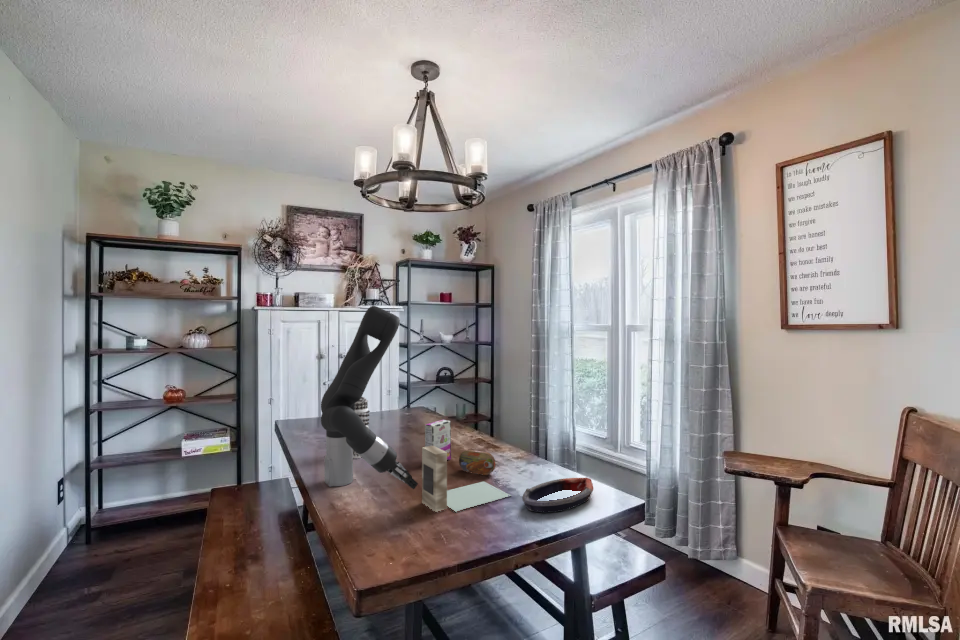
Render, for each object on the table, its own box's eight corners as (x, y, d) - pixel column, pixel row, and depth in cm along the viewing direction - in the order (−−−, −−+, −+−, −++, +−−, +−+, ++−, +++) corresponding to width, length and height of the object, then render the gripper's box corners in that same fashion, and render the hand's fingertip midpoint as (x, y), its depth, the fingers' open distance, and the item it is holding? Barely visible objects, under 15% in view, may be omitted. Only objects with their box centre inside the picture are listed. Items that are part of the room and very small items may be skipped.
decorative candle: (366, 458, 194) (366, 399, 194) (344, 458, 194) (344, 399, 194) (372, 452, 203) (372, 396, 203) (351, 452, 203) (351, 395, 203)
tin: (458, 470, 179) (458, 449, 179) (462, 468, 182) (462, 447, 182) (492, 477, 172) (492, 455, 172) (496, 474, 175) (496, 452, 175)
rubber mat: (455, 512, 141) (455, 511, 141) (430, 495, 154) (430, 494, 154) (511, 496, 154) (511, 495, 154) (483, 482, 167) (483, 481, 167)
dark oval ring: (509, 505, 147) (509, 489, 147) (574, 484, 165) (574, 471, 165) (543, 523, 135) (543, 506, 135) (610, 498, 153) (610, 483, 153)
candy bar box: (442, 457, 196) (442, 419, 196) (451, 459, 193) (451, 420, 193) (424, 464, 187) (424, 424, 187) (433, 466, 184) (433, 425, 184)
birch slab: (434, 513, 141) (434, 454, 141) (421, 503, 148) (421, 447, 148) (446, 509, 143) (447, 452, 143) (432, 500, 151) (432, 445, 151)
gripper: (395, 447, 131) (432, 481, 138) (377, 437, 142) (413, 469, 149) (377, 470, 128) (417, 503, 135) (360, 457, 139) (397, 489, 146)
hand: (414, 485), depth 142 cm, fingers closed
